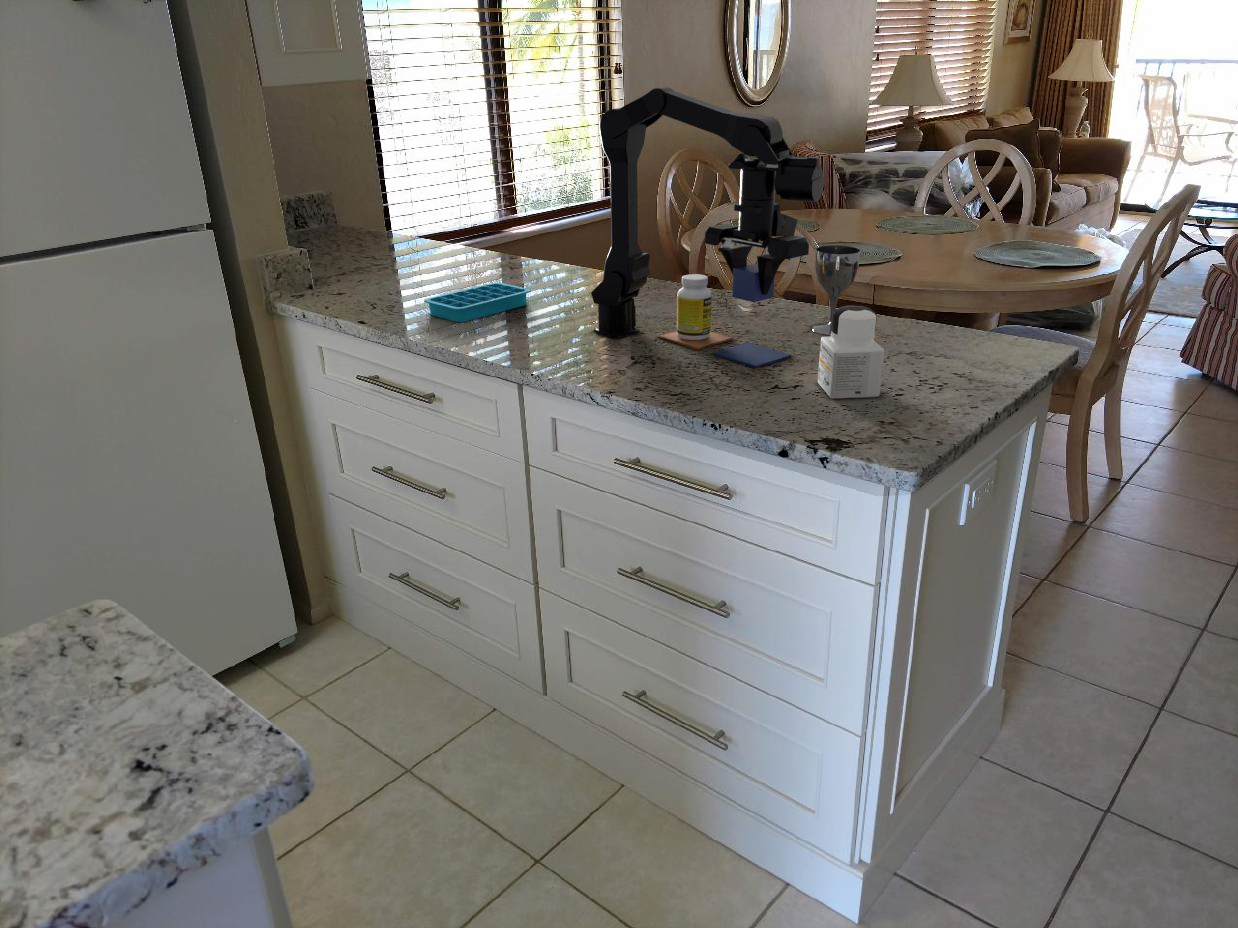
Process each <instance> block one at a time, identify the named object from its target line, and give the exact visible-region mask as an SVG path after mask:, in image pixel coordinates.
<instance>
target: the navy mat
mask: <svg viewBox="0 0 1238 928" xmlns="http://www.w3.org/2000/svg"><path fill="white" fill-rule="evenodd" d="M712 355H713V356H716V357H718V358H722V359H726V360H729V361H732V362H735V363H739V364H742V365H745V366H748V367H751V368H754V369H757V368H760V367H763V366H768V365H770V364H773V363H777V362H779V361H783V360H787V359H790V358H792V354H789V353H786V352H782V351H779V350H775V349H772V348H768V347H765V346H762V345H758V344H755V343H751V342H746V343H742V344H739V345H735V346H732V347H731V346H730V347H729V348H725V349H720V350H718V351H715V352H713V353H712Z"/></svg>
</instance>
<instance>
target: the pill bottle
mask: <svg viewBox="0 0 1238 928" xmlns="http://www.w3.org/2000/svg"><path fill="white" fill-rule="evenodd" d="M708 284H709V277H708V276H707V275H705V274H698V273H692V274H685V275H682V276H681V286H682V287H681V288H680V289H678V290H677V293H676V294H677V296H676V302H677V303H676V331H677V336H678V337H679V338H681V339H685V340H703V339H706V338H708V337H709V336H710V332H711V326H712V325H711V324H712V323H711V322H712V291H711V289H709V288H708V287H707V286H708Z"/></svg>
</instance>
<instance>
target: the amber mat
mask: <svg viewBox="0 0 1238 928" xmlns="http://www.w3.org/2000/svg"><path fill="white" fill-rule="evenodd" d="M658 338H659V339H662V340H665V341H668V342H672V343H675V344H678V345H681V346H684V347H687V348H691V349H694V350H701V349H704V348H707V347H711V346H715V345H719V344H722V343H725V342H730V341H732V340H733V337H731V336H727V335H723V334H721V333H716V332H713V331H710V336H709V337H708V338H706V339H703V340H685V339H681V338H679V337H678V336H677V330H675V331H672V332H668V333H665V334H660V335H658Z"/></svg>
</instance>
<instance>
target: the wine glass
mask: <svg viewBox="0 0 1238 928" xmlns="http://www.w3.org/2000/svg"><path fill="white" fill-rule="evenodd" d="M860 257H861V249H859V248H857V247H853V246H849V245H823V246H819V247H816V248H815V255H814V268H815V275H816V279H817V282H818V284H819V285H820V286H821V287H822V289H823V290H824V292H826V294H827V297H828V299H829V305H830V316H829V322H828V323H827V324H818V325H815V326H813V327H812V328H811V330H812V331H813V332H814V333H816V334H820V335H825V336H831V328H832V315H833V312H834V311H835V310H836V309H837V304H838V301H839V299H840V297H841V296H842V295H843V293H844V292H845V291H846V290H847V289H848V288H849V287H851V285H852V284H853V283H854V281H855V279H856V277H857V274H858V269H859V265H860V260H861V259H860Z"/></svg>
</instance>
